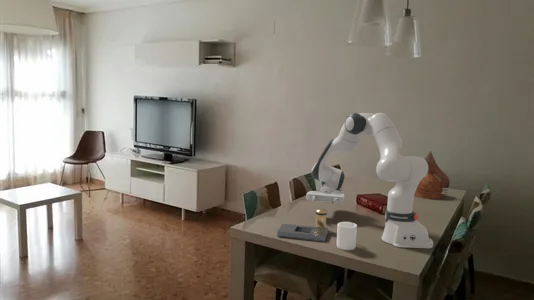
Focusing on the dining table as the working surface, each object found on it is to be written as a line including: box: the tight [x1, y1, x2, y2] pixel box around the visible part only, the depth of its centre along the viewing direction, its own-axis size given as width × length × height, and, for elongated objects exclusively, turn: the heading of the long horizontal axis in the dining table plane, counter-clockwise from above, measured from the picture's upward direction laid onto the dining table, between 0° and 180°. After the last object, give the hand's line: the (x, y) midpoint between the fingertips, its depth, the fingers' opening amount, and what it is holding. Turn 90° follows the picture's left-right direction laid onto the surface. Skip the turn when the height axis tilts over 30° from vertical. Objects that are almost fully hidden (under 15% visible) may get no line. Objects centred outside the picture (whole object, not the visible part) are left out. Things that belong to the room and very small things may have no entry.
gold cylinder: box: [314, 208, 328, 228], centre depth 212 cm, size 5×5×10 cm
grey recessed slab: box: [276, 223, 329, 242], centre depth 205 cm, size 22×12×2 cm, turn 76°
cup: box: [336, 221, 358, 251], centre depth 192 cm, size 8×12×10 cm
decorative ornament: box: [414, 151, 450, 200], centre depth 286 cm, size 26×19×30 cm
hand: (323, 200), depth 224 cm, fingers open, 8 cm apart
